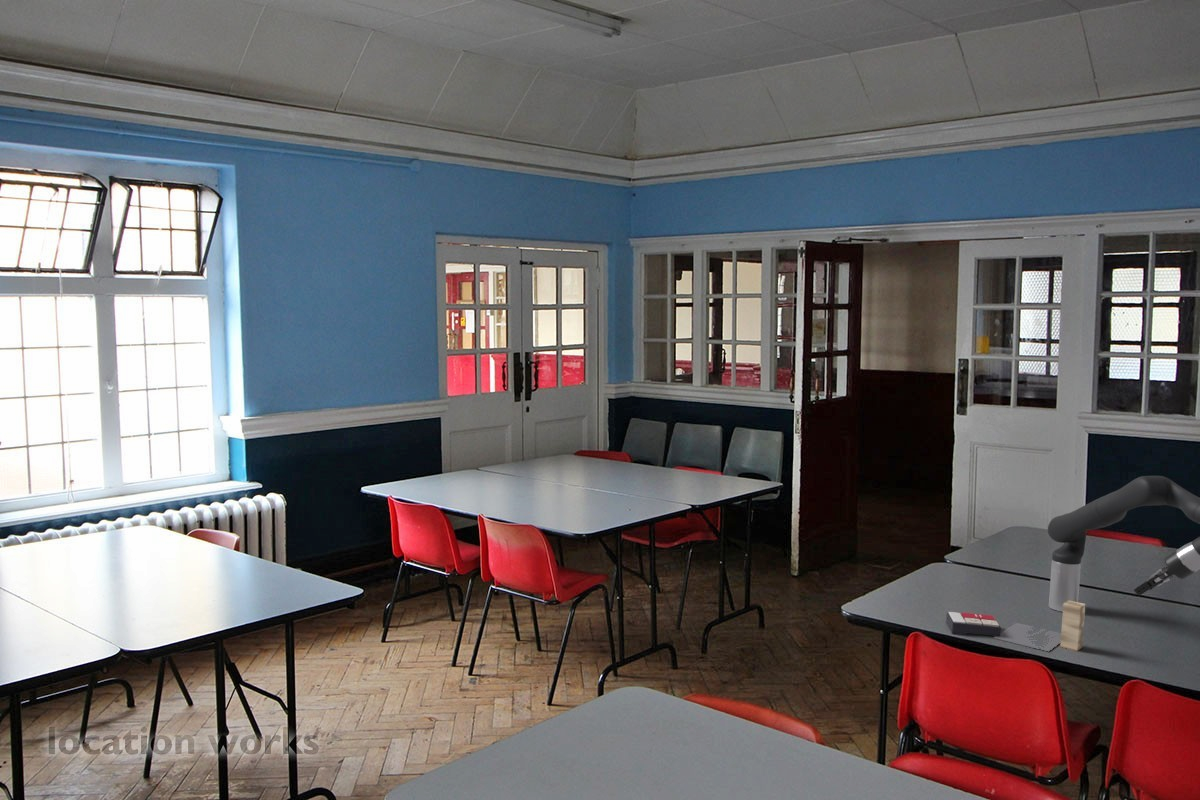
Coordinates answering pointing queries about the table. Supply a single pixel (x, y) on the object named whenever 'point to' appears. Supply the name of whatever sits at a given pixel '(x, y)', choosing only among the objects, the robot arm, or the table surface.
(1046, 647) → the mat
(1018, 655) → the table surface
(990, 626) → the red white grey box
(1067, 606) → the tall block
